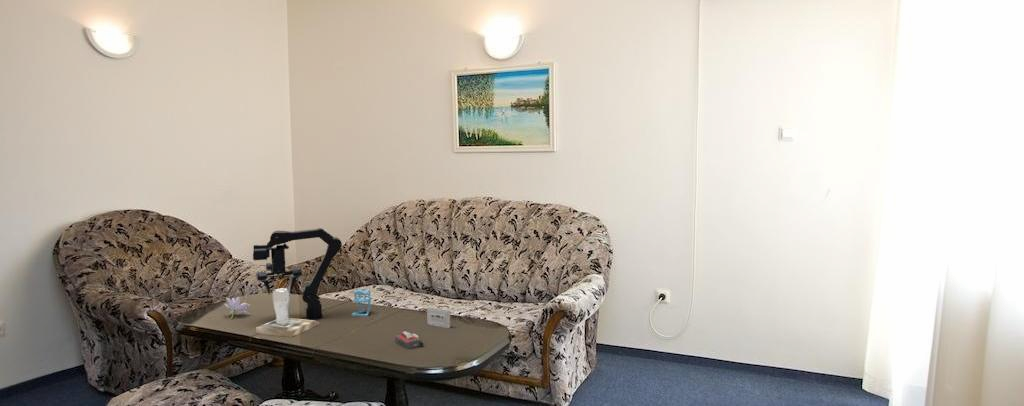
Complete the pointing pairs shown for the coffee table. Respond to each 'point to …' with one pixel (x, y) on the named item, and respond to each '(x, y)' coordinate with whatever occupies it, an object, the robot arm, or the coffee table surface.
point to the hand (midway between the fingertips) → (279, 292)
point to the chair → (362, 299)
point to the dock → (286, 327)
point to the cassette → (435, 321)
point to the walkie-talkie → (408, 340)
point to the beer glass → (281, 306)
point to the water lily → (237, 306)
